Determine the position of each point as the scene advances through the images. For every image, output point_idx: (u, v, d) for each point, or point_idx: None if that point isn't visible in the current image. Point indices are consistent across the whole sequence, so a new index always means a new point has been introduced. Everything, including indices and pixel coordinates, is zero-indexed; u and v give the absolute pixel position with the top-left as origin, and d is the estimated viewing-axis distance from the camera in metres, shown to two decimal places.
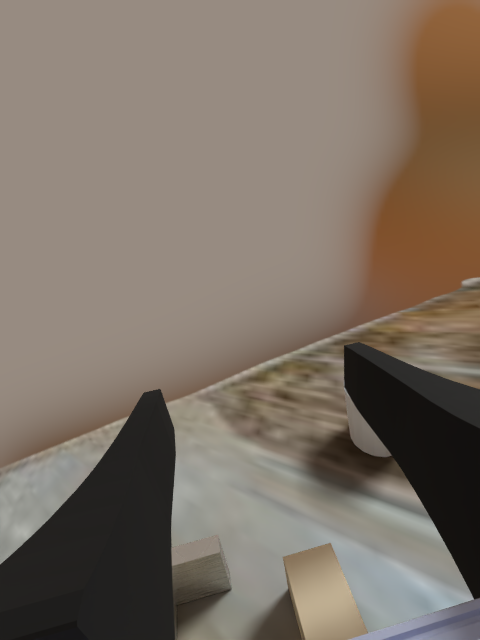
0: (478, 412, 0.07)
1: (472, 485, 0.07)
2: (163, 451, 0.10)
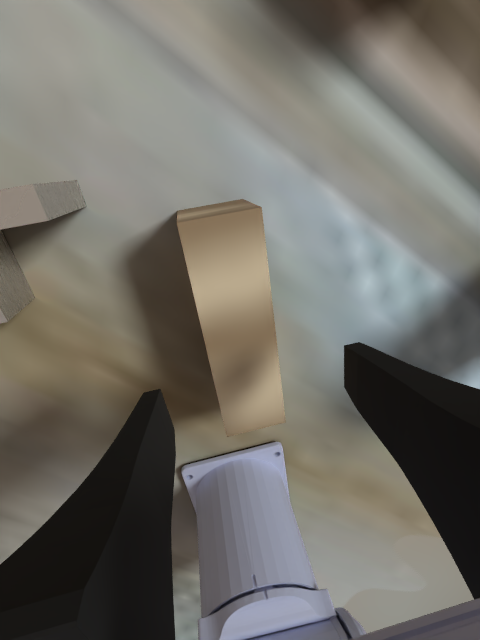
0: (478, 412, 0.07)
1: (473, 485, 0.07)
2: (163, 451, 0.10)
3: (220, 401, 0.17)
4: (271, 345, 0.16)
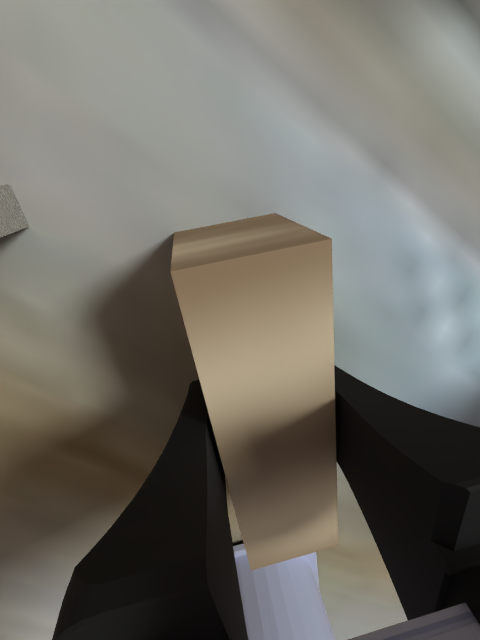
0: (404, 431, 0.07)
1: (398, 506, 0.07)
2: None
3: (243, 530, 0.11)
4: (327, 452, 0.10)
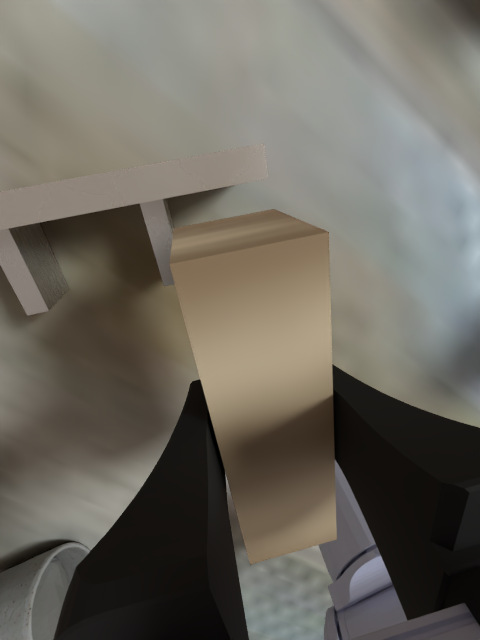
0: (403, 431, 0.07)
1: (398, 507, 0.07)
2: None
3: (242, 523, 0.11)
4: (325, 446, 0.10)
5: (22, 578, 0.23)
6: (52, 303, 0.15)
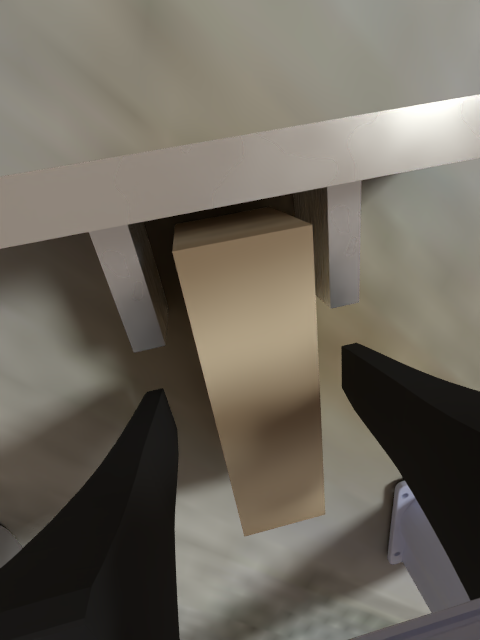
0: (474, 413, 0.07)
1: (468, 487, 0.07)
2: (166, 450, 0.10)
3: (236, 496, 0.12)
4: (313, 422, 0.11)
5: None
6: (165, 332, 0.10)
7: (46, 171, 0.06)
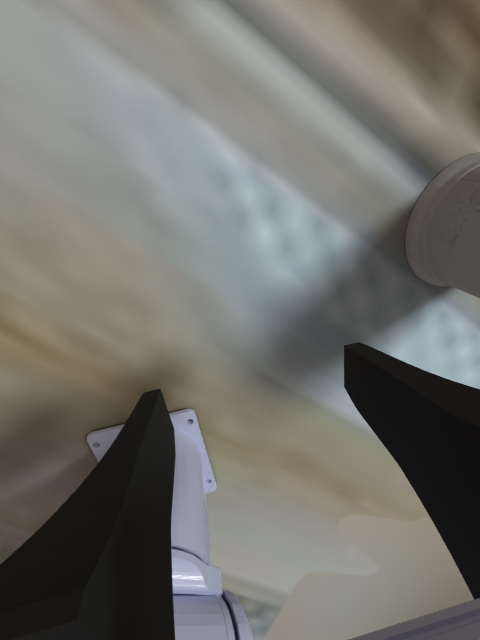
0: (478, 412, 0.07)
1: (473, 485, 0.07)
2: (163, 451, 0.10)
3: None
4: None
5: None
6: None
7: None
